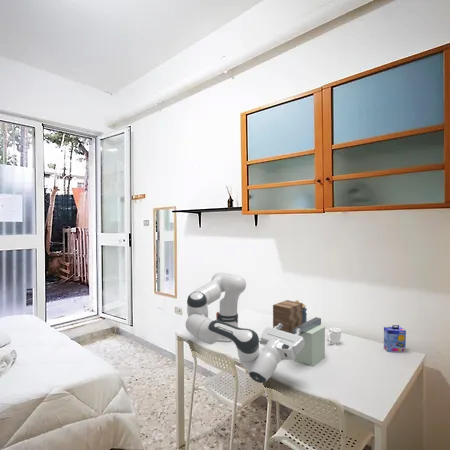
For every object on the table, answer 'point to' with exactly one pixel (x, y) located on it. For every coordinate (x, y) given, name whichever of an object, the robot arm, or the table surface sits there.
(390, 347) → the ink cartridge box
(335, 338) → the cup
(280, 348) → the robot arm
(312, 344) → the sage block
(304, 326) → the metal bar
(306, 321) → the canister
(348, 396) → the table surface
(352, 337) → the table surface
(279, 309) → the walnut stand
